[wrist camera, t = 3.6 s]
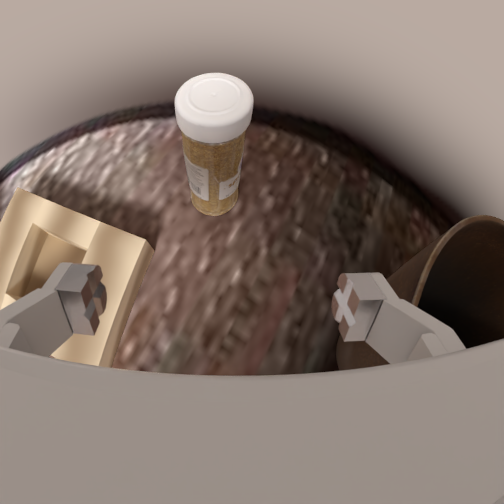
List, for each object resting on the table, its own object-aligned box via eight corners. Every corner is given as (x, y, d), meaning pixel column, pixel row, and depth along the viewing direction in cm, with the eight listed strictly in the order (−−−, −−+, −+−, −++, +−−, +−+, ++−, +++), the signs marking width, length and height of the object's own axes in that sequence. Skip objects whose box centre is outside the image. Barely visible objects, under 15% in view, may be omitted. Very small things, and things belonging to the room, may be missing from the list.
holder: (154, 251, 26) (146, 239, 23) (109, 374, 23) (94, 380, 19) (33, 200, 26) (17, 187, 22) (-7, 301, 22) (-27, 297, 19)
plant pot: (436, 288, 28) (553, 251, 13) (414, 423, 24) (529, 457, 9) (313, 257, 27) (413, 175, 12) (280, 417, 23) (357, 509, 8)
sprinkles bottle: (243, 212, 28) (264, 117, 15) (194, 221, 27) (178, 130, 14) (232, 170, 29) (244, 66, 16) (186, 178, 28) (170, 75, 15)
